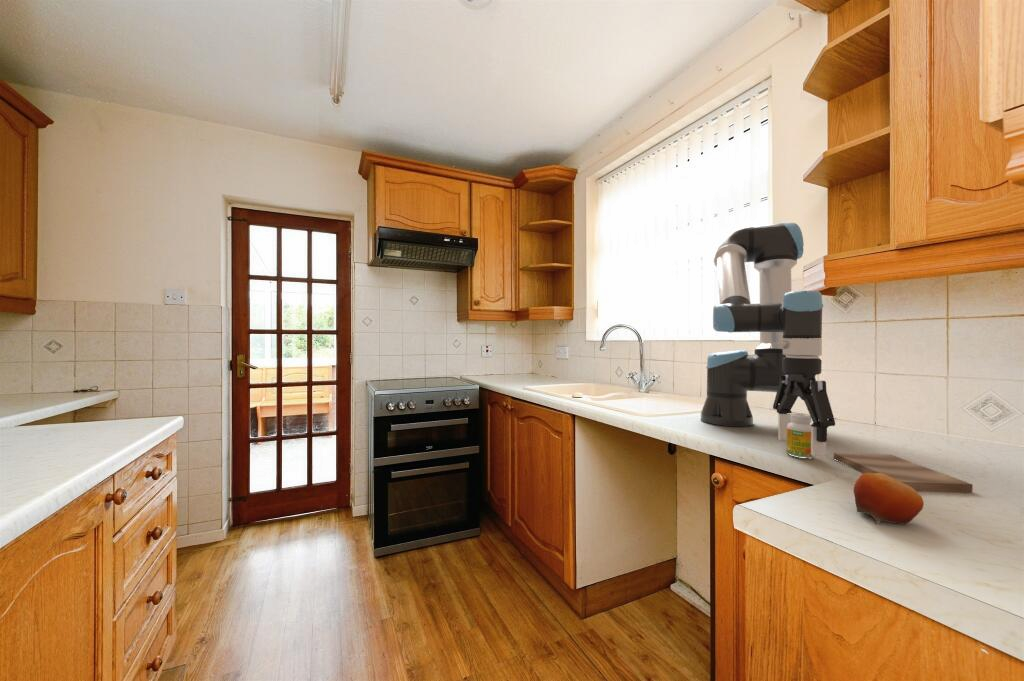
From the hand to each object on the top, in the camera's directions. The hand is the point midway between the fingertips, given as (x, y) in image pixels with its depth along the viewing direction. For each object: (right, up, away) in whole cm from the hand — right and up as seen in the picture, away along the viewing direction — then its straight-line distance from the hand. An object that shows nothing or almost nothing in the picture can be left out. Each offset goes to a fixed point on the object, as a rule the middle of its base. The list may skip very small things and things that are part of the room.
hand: (800, 447), depth 95 cm
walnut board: (+11, -2, -12) cm, 16 cm away
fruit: (-10, -3, -32) cm, 34 cm away
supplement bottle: (0, -2, 0) cm, 2 cm away
